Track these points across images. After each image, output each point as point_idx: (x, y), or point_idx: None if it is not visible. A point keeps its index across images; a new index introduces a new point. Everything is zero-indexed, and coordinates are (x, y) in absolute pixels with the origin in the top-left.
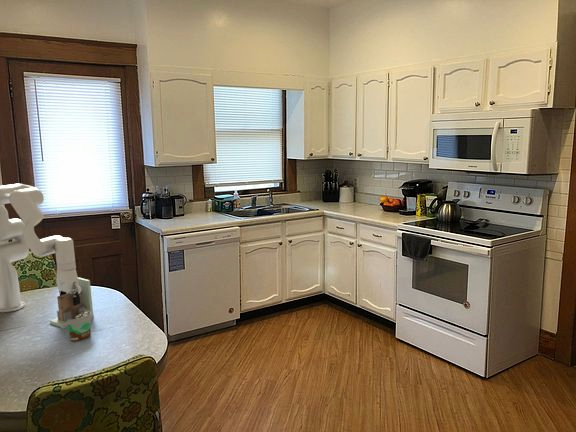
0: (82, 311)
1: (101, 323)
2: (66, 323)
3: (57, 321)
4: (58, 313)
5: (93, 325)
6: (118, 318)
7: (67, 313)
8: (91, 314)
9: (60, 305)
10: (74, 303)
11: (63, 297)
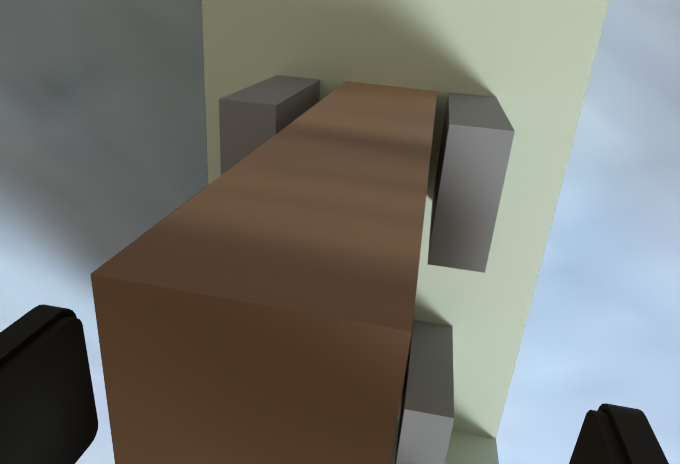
0: None
1: (5, 288)
2: (217, 45)
3: (423, 28)
4: (459, 115)
5: (15, 219)
6: None
7: (227, 157)
8: None
9: (296, 155)
10: (9, 345)
11: (137, 390)
